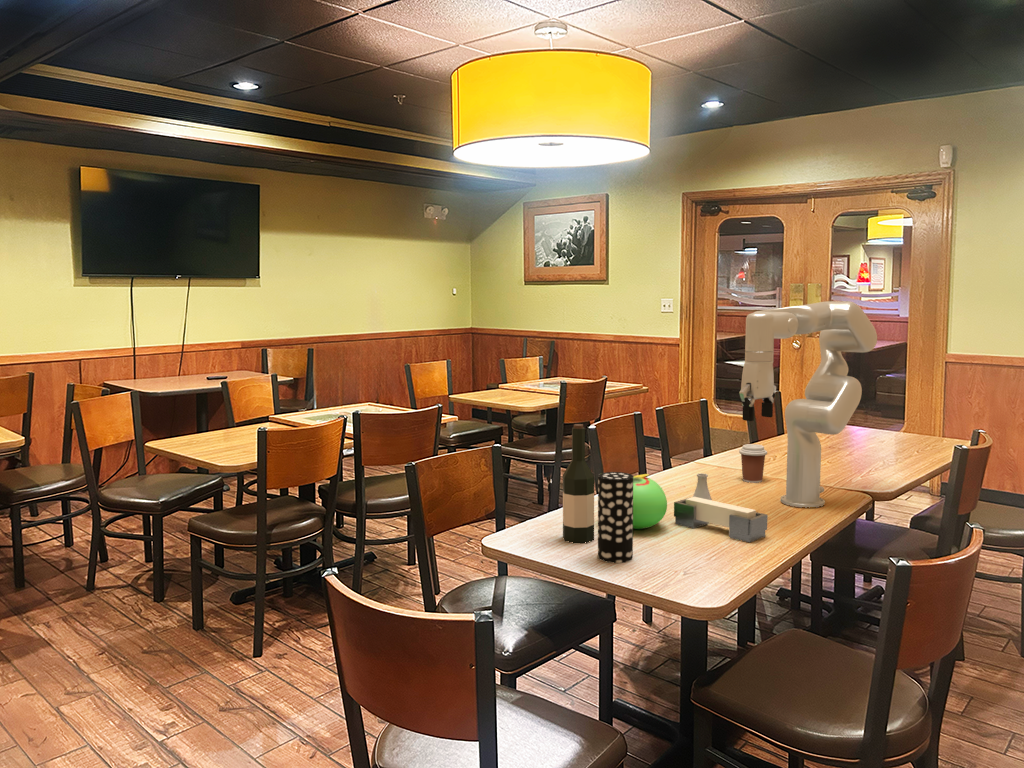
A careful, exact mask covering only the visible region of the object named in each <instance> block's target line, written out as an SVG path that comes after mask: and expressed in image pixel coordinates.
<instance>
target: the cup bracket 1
mask: <svg viewBox="0 0 1024 768" xmlns="http://www.w3.org/2000/svg"><path fill="white" fill-rule="evenodd" d="M688 498H689V497H687V498H685V499H680V500H677V501H675V502H673V517H674V519H675V523H674V524H675V525H678V526H682V527H686V528H689V529H690V528H691V529H696V528H699V527H702V526H705V525H708V524H709V523H708V522H704V521H700V520H696V506H693V505H689V504H686V499H688Z"/></svg>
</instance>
